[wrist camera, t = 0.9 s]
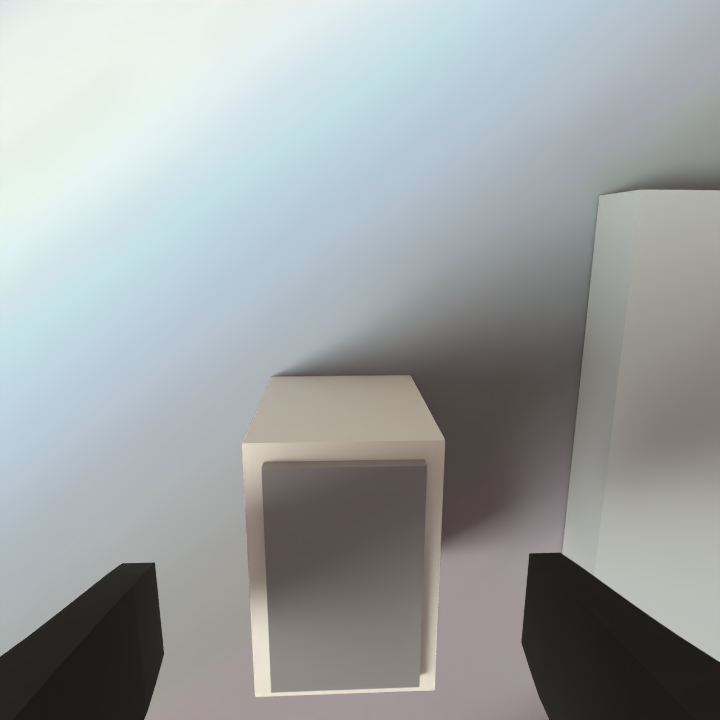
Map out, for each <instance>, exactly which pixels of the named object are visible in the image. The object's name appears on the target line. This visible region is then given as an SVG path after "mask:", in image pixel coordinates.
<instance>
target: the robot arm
mask: <svg viewBox="0 0 720 720" xmlns="http://www.w3.org/2000/svg"><path fill="white" fill-rule="evenodd" d="M521 643H522V646H523V649H524V652H525V655H526V658H527V662H528V665H529V668H530V671H531V674H532V677H533V680H534V683H535V686H536V689H537V692H538V695H539V697H540V700H541V702H542V704H543V706H544V709H545V711H546V713H547V715H548V718H549V720H720V662H719V661H717V660H716V659H714V658H713V657H711V656H710V655H708V654H707V653H705V652H703V651H702V650H700V649H699V648H697V647H696V646H694V645H692V644H691V643H689V642H688V641H686V640H685V639H683V638H682V637H680V636H679V635H677V634H676V633H674V632H673V631H671V630H670V629H668V628H667V627H665V626H664V625H662V624H661V623H659V622H658V621H656V620H655V619H654V618H652V617H651V616H649V615H648V614H646V613H645V612H643V611H642V610H641V609H639V608H638V607H636V606H635V605H634V604H632V603H631V602H629V601H628V600H627V599H625V598H624V597H622V596H621V595H620V594H618V593H617V592H615V591H614V590H613V589H611V588H610V587H609V586H607V585H606V584H604V583H603V582H602V581H600V580H599V579H598V578H596V577H595V576H593V575H592V574H591V573H589V572H588V571H586V570H585V569H584V568H582V567H581V566H579V565H578V564H577V563H575V562H574V561H572V560H571V559H569V558H568V557H566V556H565V555H563V554H561V553H531V554H529V565H528V576H527V587H526V598H525V609H524V620H523V631H522V642H521ZM163 656H164V649H163V639H162V629H161V619H160V609H159V599H158V589H157V579H156V570H155V563H123V564H121V565H119V566H118V567H117V568H115V569H114V570H112V571H111V572H110V573H108V574H107V575H106V576H105V577H103V578H102V579H101V580H99V581H98V582H97V583H96V584H94V585H93V586H92V587H91V588H89V589H88V590H87V591H86V592H84V593H83V594H82V595H81V596H79V597H78V598H77V599H75V600H74V601H73V602H72V603H70V604H69V605H68V606H67V607H65V608H64V609H63V610H62V611H60V612H59V613H58V614H56V615H55V616H54V617H53V618H51V619H50V620H49V621H47V622H46V623H45V624H44V625H42V626H41V627H40V628H38V629H37V630H36V631H35V632H33V633H32V634H31V635H29V636H28V637H27V638H25V639H24V640H23V641H21V642H20V643H19V644H17V645H16V646H14V647H13V648H12V649H10V650H9V651H7V652H6V653H5V654H3V655H2V656H1V657H0V720H144V719H145V716H146V714H147V711H148V708H149V704H150V701H151V698H152V695H153V691H154V688H155V685H156V681H157V677H158V674H159V670H160V667H161V663H162V659H163Z"/></svg>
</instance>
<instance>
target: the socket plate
mask: <svg viewBox="0 0 720 720" xmlns="http://www.w3.org/2000/svg"><path fill="white" fill-rule="evenodd" d="M562 554H563V555H565V556H566V557H568V558H569V559H571V560H572V561H574V562H575V563H577V564H578V565H579V566H581V567H582V568H584V569H585V570H586V571H588V572H589V573H591V574H592V575H593V576H595V577H596V578H598V579H599V580H600V581H602V582H603V583H604V584H606V585H607V586H609V587H610V588H611V589H613V590H614V591H615V592H617V593H618V594H620V595H621V596H622V597H624V598H625V599H627V600H628V601H629V602H631V603H632V604H634V605H635V606H636V607H638V608H639V609H641V610H642V611H643V612H645V613H646V614H648V615H649V616H651V617H652V618H654V619H655V620H656V621H658V622H659V623H661V624H662V625H664V626H665V627H667V628H668V629H670V630H671V631H673V632H674V633H676V634H677V635H679V636H680V637H682V638H683V639H685V640H686V641H688V642H689V643H691V644H692V645H694V646H696V647H697V648H699V649H700V650H702V651H703V652H705V653H707V654H708V655H710V656H711V657H713V658H714V659H716V660H717V661H719V662H720V190H635V191H628V192H621V193H614V194H607V195H600V196H599V204H598V214H597V224H596V233H595V243H594V253H593V262H592V272H591V281H590V291H589V301H588V310H587V320H586V330H585V339H584V349H583V358H582V368H581V378H580V387H579V397H578V407H577V416H576V426H575V435H574V445H573V455H572V464H571V474H570V484H569V493H568V503H567V512H566V522H565V532H564V541H563V551H562Z"/></svg>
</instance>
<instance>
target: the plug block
mask: <svg viewBox="0 0 720 720" xmlns="http://www.w3.org/2000/svg"><path fill="white" fill-rule="evenodd" d="M242 455H243V474H244V493H245V512H246V531H247V550H248V569H249V588H250V607H251V626H252V645H253V664H254V683H255V697H264V696H290V695H317V694H343V693H370V692H396V691H423V690H434V689H435V666H436V643H437V620H438V597H439V574H440V550H441V527H442V504H443V481H444V458H445V439H444V437H443V435H442V433H441V431H440V429H439V428H438V426H437V424H436V422H435V420H434V418H433V416H432V414H431V413H430V411H429V409H428V407H427V405H426V403H425V401H424V400H423V398H422V396H421V394H420V392H419V390H418V388H417V386H416V385H415V383H414V381H413V379H412V377H411V375H380V376H271V378H270V380H269V383H268V385H267V387H266V389H265V392H264V394H263V396H262V399H261V401H260V403H259V405H258V408H257V410H256V412H255V415H254V417H253V419H252V421H251V424H250V426H249V428H248V431H247V433H246V435H245V437H244V440H243V442H242Z"/></svg>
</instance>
